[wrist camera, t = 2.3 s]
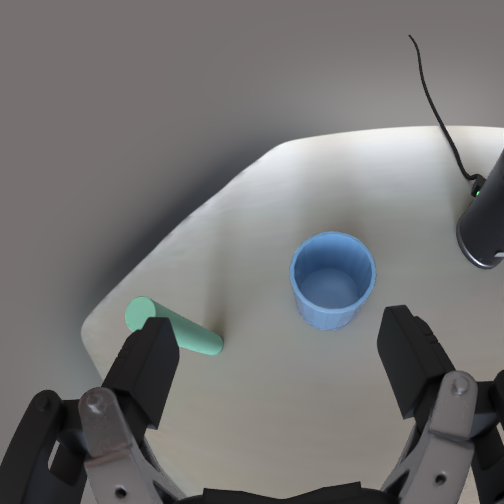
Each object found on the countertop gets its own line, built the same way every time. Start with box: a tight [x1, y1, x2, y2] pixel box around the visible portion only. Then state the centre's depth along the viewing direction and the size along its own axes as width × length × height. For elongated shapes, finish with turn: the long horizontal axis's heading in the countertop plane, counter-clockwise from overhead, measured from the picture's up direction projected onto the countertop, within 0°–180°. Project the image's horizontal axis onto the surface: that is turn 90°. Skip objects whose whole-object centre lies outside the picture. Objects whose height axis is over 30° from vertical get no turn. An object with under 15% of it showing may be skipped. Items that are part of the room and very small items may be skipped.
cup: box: [290, 231, 376, 330], centre depth 28 cm, size 8×8×9 cm
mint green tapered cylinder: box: [125, 296, 223, 355], centre depth 26 cm, size 3×3×16 cm
